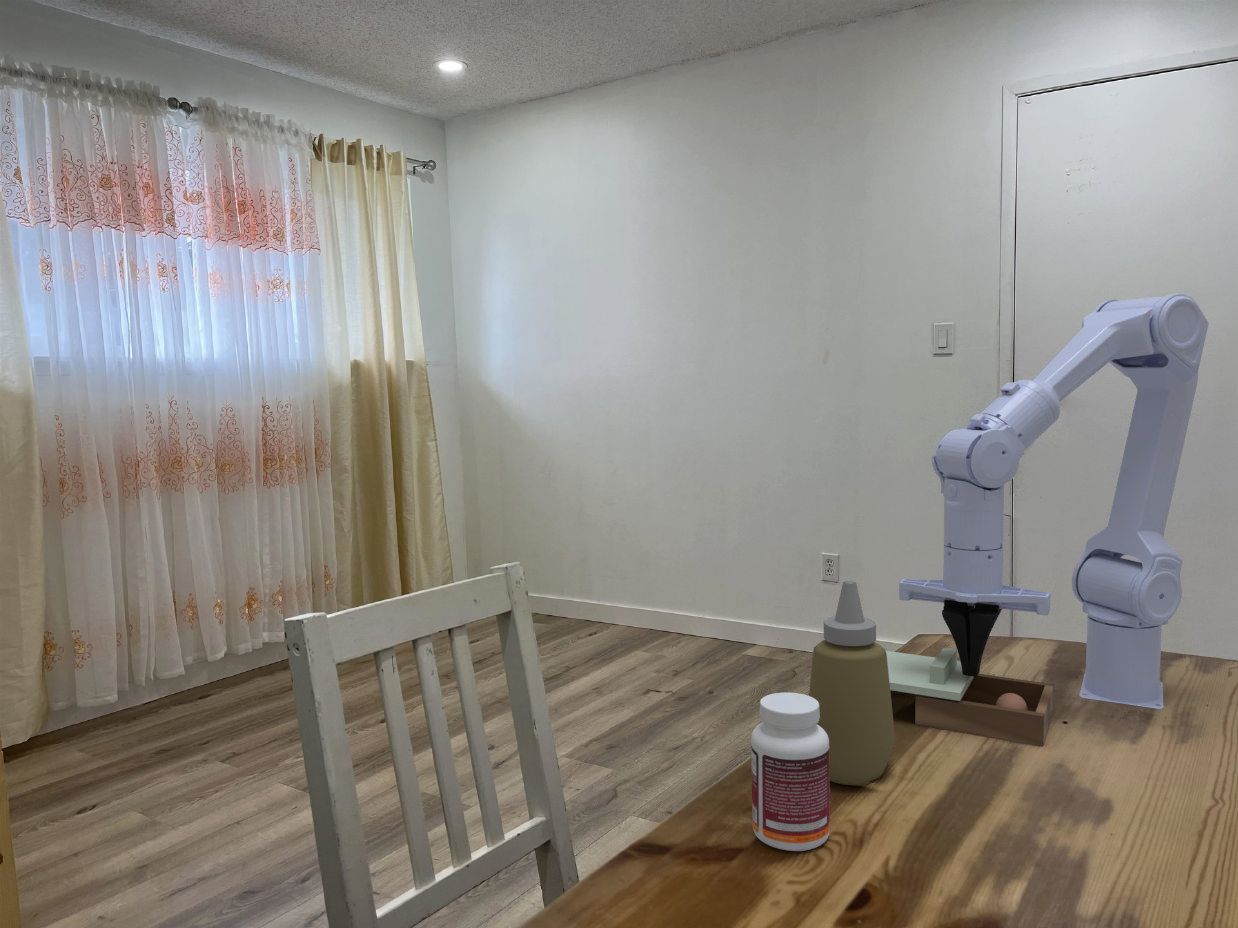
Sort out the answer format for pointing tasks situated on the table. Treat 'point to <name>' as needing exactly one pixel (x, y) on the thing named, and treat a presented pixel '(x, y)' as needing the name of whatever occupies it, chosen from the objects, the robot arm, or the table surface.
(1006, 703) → the ball
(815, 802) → the pill bottle
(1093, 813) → the table surface
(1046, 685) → the walnut box
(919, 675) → the lid
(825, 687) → the squeeze bottle
